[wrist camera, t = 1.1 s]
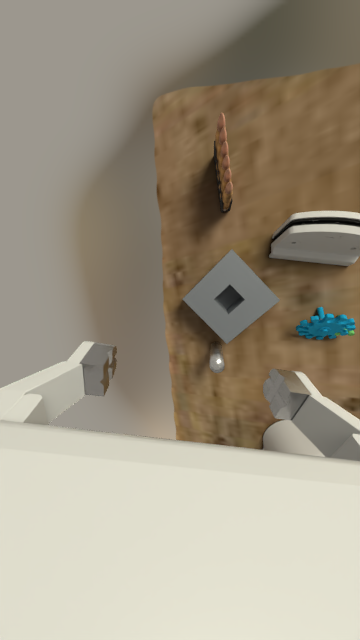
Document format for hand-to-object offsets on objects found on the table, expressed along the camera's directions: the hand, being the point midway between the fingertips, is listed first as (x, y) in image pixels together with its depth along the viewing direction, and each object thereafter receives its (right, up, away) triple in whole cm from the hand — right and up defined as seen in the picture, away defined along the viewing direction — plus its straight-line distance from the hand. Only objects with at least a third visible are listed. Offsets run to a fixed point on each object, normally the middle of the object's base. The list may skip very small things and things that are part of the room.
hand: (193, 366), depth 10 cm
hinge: (+27, +19, +30) cm, 44 cm away
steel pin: (+9, -5, +39) cm, 40 cm away
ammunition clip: (+8, +31, +30) cm, 44 cm away
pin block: (+10, +8, +35) cm, 38 cm away
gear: (+31, +2, +34) cm, 46 cm away
